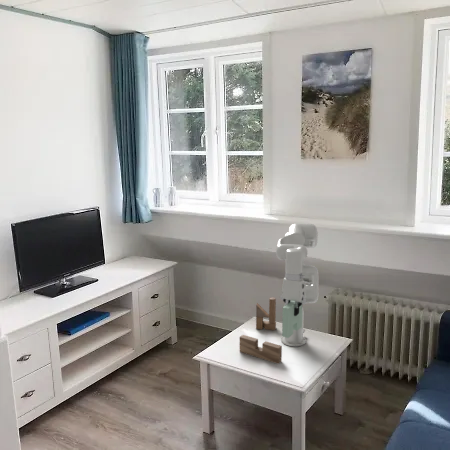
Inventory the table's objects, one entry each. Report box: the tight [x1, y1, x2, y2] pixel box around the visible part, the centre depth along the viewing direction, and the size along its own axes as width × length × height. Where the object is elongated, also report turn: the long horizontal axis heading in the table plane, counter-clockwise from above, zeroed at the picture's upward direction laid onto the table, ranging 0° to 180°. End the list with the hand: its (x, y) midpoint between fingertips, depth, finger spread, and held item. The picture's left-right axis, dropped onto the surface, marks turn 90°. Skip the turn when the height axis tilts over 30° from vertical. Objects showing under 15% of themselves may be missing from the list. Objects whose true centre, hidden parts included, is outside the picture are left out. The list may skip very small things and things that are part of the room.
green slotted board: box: [281, 301, 303, 338], centre depth 218 cm, size 14×3×14 cm, turn 145°
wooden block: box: [255, 296, 277, 331], centre depth 262 cm, size 4×11×18 cm, turn 80°
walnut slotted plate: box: [239, 334, 283, 365], centre depth 232 cm, size 3×22×8 cm, turn 55°
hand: (292, 313), depth 218 cm, fingers closed on green slotted board, 3 cm apart
